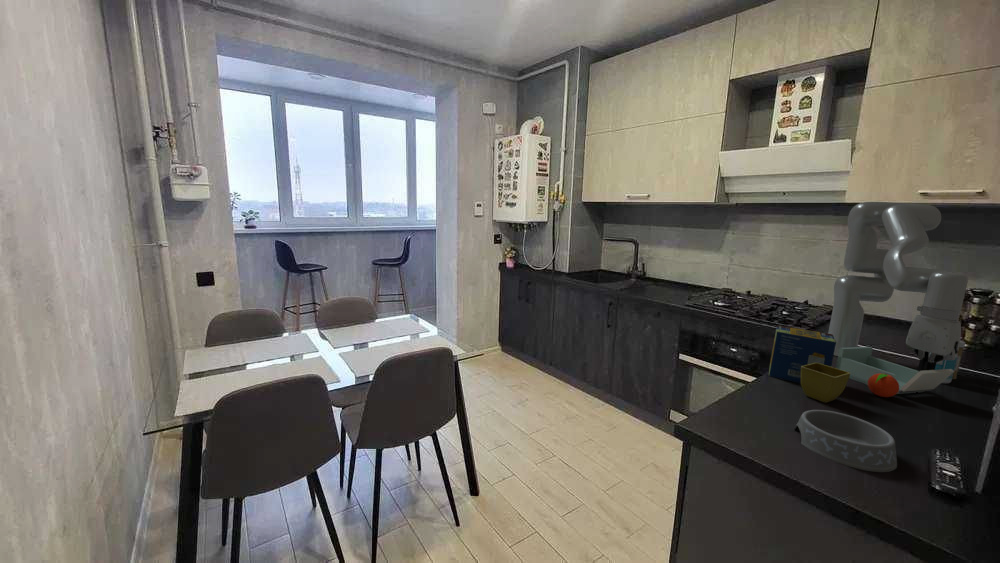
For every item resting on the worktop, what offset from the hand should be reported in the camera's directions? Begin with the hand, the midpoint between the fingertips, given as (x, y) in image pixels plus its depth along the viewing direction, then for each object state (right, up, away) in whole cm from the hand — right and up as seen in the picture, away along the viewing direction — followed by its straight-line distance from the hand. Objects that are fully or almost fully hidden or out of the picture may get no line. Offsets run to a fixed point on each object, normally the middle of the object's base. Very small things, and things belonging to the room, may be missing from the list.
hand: (925, 373), depth 120 cm
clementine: (-13, -7, +1) cm, 15 cm away
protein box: (-30, -4, +12) cm, 32 cm away
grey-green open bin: (-3, -6, +12) cm, 13 cm away
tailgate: (-1, -6, +2) cm, 6 cm away
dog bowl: (-50, -11, -29) cm, 58 cm away
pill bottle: (+21, -6, +17) cm, 28 cm away
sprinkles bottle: (+29, -6, +20) cm, 36 cm away
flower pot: (-34, -7, -3) cm, 35 cm away
